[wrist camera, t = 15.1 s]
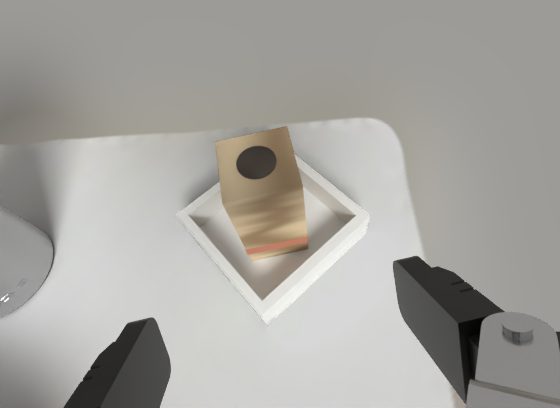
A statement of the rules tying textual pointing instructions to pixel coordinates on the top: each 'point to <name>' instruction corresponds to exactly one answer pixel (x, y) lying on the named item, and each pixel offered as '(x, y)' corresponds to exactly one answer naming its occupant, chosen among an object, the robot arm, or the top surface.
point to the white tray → (288, 267)
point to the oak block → (263, 192)
